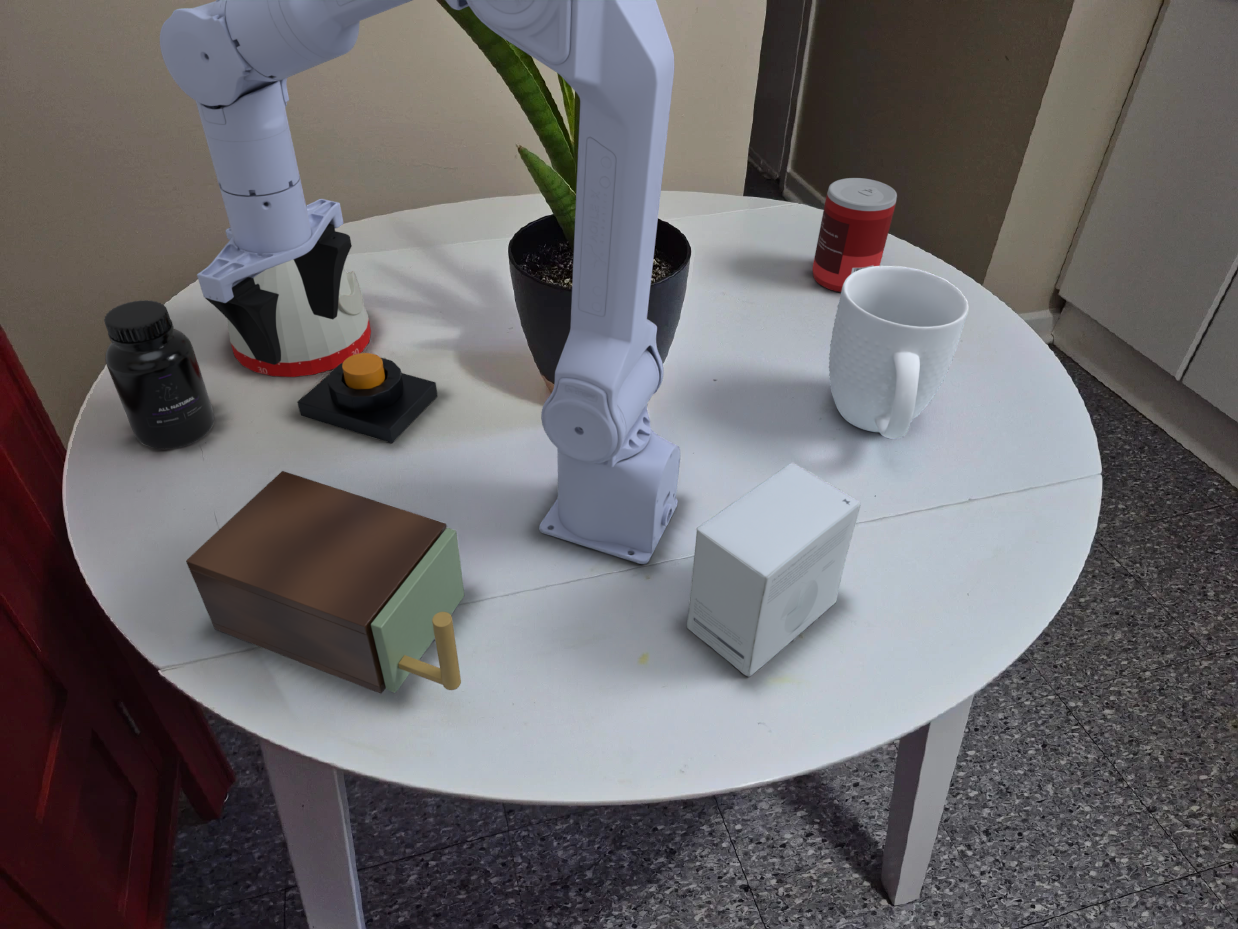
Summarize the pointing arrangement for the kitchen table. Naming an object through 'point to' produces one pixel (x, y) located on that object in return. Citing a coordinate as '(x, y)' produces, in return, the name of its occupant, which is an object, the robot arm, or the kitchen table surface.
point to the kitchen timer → (307, 326)
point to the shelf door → (423, 619)
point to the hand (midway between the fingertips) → (298, 336)
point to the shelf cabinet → (311, 573)
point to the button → (363, 371)
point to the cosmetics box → (769, 566)
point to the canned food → (852, 229)
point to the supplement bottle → (156, 376)
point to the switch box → (369, 403)
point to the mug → (892, 345)
